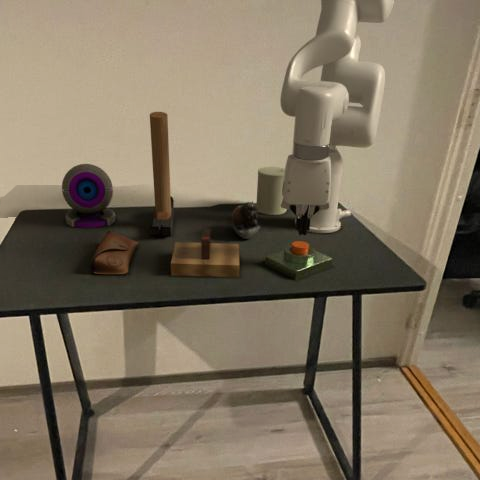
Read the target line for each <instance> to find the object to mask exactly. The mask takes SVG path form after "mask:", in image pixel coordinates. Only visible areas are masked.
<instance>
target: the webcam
mask: <svg viewBox="0 0 480 480" xmlns="http://www.w3.org/2000/svg"><path fill="white" fill-rule="evenodd" d="M61 190H62V197H63V199H64V201H65V202H66V204H67V205H68V206H69V207H70V208H71V210H69V211H68V212H67V213H66V214H65V223H66V225H68V226H69V227H72V228H73V227H79V228H86V229H87V228H89V229H90V228H98V227H99V228H100V227H103V226H110V225H112V224H114V223H115V222H116V214H115V211H113V209H111V208H108V206H109V205H110V203H111V202H112V199H113V195H114V194H113V193H114V186H113V182H112V180H111V178H110V176H109V175H108V174H107V172H106V171H105V170H104V169H102V168H101V167H100V166H97V165H95V164H92V163H81V164H76V165H75V166H73V167H71V168H70V169H69V170H68V171H67V172H66V173H65V175H64V177H63V178H62V182H61Z"/></svg>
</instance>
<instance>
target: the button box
mask: <svg viewBox="0 0 480 480" xmlns="http://www.w3.org/2000/svg"><path fill="white" fill-rule="evenodd" d="M291 246H292V244H289V245H286V246H285V248H284V249H283V250H281V251H278V252H274V253H271V254H269V255H265V261H264V265H265V266H267V267H269V268H271V269H273V270H275V271H277V272H279V273H281V274H283V275H285V276H287V277H289V278H291V279H293V280H299V279H302V278H304V277H307V276H310V275H312V274H315V273H317V272H320V271H323V270H326V269H328V268H331V267H332V264H333V263H332V262H333V257H330V256H328V255H326V254H325V253H321V252H319V251H317V250H315V248H313V247H311V246H309V251H308V253H307V254H296V253H293V252H291Z"/></svg>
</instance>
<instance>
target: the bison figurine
mask: <svg viewBox="0 0 480 480" xmlns="http://www.w3.org/2000/svg"><path fill="white" fill-rule="evenodd" d="M257 209H258V207H256V203H254V201H247V202H245V203H243V205H238V206H236V207H235V208H234V209H233V212H232V230H233V231H234V232H235V233H236V235H238V236H239V237H240V238H242V239H243V240H244V239H245V240H247V239H252V238H253V237H254V236H255V235H256V234H257V233H259V231H260V229H261V226H260V225H259V224H258V220H257V219H259V216H258V214H259V212H258V210H257Z"/></svg>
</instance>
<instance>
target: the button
mask: <svg viewBox="0 0 480 480" xmlns="http://www.w3.org/2000/svg"><path fill="white" fill-rule="evenodd" d="M291 245H292V246H291V252H293V253H296V254H307V253H308V251H309V247H310V244H309V243H308V242H306V241H302V240H296V241H292V242H291Z"/></svg>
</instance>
